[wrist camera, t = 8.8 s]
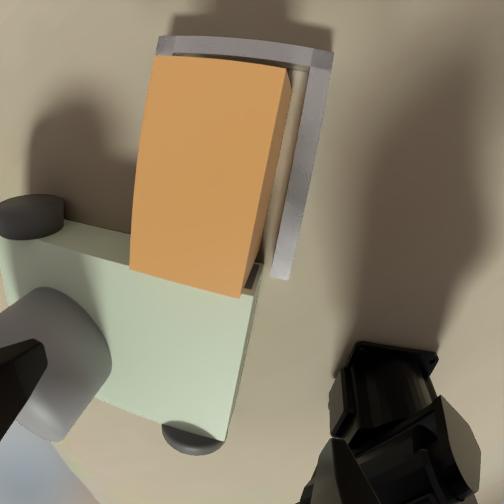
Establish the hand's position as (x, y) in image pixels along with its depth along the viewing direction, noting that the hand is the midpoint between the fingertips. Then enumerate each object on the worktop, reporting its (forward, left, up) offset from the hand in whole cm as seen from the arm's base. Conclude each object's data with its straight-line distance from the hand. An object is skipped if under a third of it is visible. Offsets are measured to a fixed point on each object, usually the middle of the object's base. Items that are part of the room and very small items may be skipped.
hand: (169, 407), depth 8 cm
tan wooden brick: (+2, -5, -12) cm, 13 cm away
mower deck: (+8, +6, -12) cm, 15 cm away
